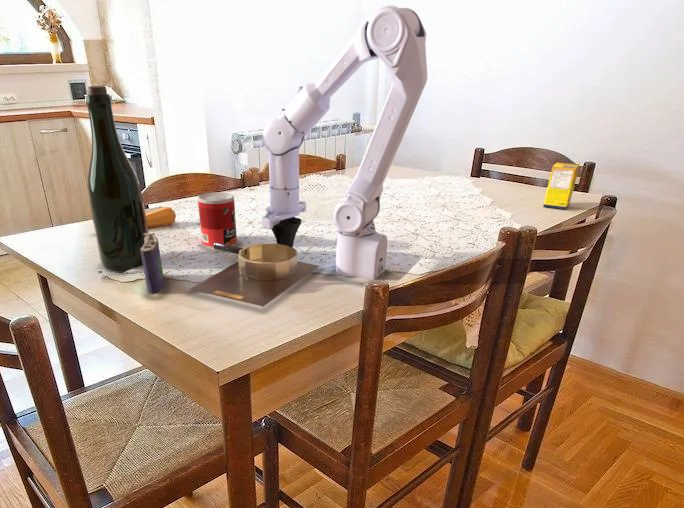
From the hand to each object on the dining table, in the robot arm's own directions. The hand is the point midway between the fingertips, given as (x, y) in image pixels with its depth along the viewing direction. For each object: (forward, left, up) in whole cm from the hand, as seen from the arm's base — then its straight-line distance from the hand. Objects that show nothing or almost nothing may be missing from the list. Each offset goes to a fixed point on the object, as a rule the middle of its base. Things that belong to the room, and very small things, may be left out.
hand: (285, 254), depth 110 cm
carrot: (+45, -4, -2) cm, 45 cm away
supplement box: (-45, -74, -2) cm, 87 cm away
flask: (+15, +23, -2) cm, 27 cm away
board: (0, +11, -2) cm, 11 cm away
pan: (+4, +7, -1) cm, 8 cm away
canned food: (+19, -3, -2) cm, 19 cm away
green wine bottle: (+29, +16, -2) cm, 33 cm away
